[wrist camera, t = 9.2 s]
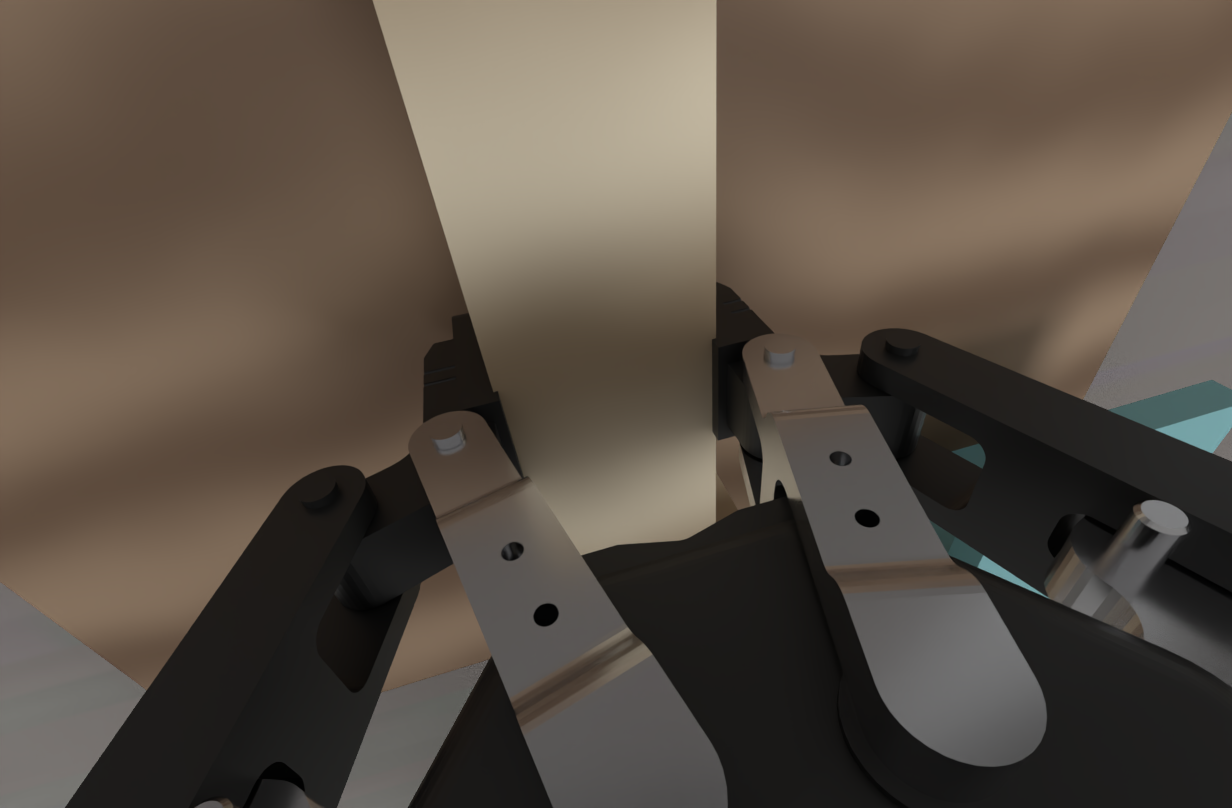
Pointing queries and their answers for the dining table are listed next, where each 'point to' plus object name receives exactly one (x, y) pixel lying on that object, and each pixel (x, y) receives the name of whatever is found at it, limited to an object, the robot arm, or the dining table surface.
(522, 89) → the maple link
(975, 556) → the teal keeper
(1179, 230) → the dining table surface
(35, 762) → the dining table surface
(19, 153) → the walnut board
